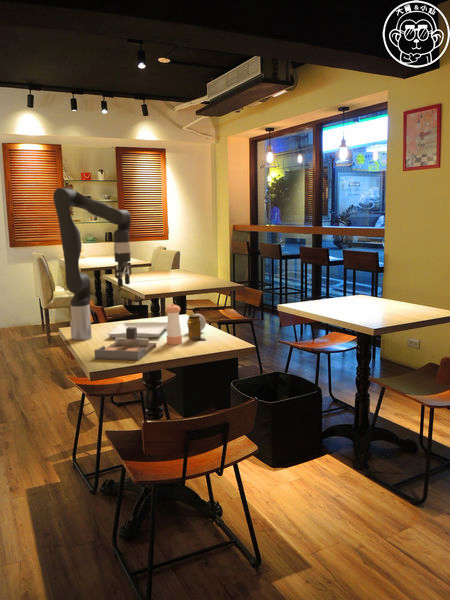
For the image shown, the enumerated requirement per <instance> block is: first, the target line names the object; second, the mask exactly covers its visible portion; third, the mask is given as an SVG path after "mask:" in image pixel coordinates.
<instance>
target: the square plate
mask: <svg viewBox="0 0 450 600" xmlns="http://www.w3.org/2000/svg"><path fill="white" fill-rule="evenodd" d="M167 324H168V321H167V322H166V321H165V322H164V321H163V322H161V321H159V322H156V321H149V322H148V321H144V322H143V321H142V322H139V321H138V322H122V323H120V324H119V325H117V326H115V327H114V328H113V329H112V330H111V331H109V332H108V333H107V335H108V337H111V338H114V339H115V338H127V337H126V328H128V327H137V338H147V339H152V338H158V337H159V336H160V335H161V334H162V333H163V332H164V331H165V330H167Z"/></svg>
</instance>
